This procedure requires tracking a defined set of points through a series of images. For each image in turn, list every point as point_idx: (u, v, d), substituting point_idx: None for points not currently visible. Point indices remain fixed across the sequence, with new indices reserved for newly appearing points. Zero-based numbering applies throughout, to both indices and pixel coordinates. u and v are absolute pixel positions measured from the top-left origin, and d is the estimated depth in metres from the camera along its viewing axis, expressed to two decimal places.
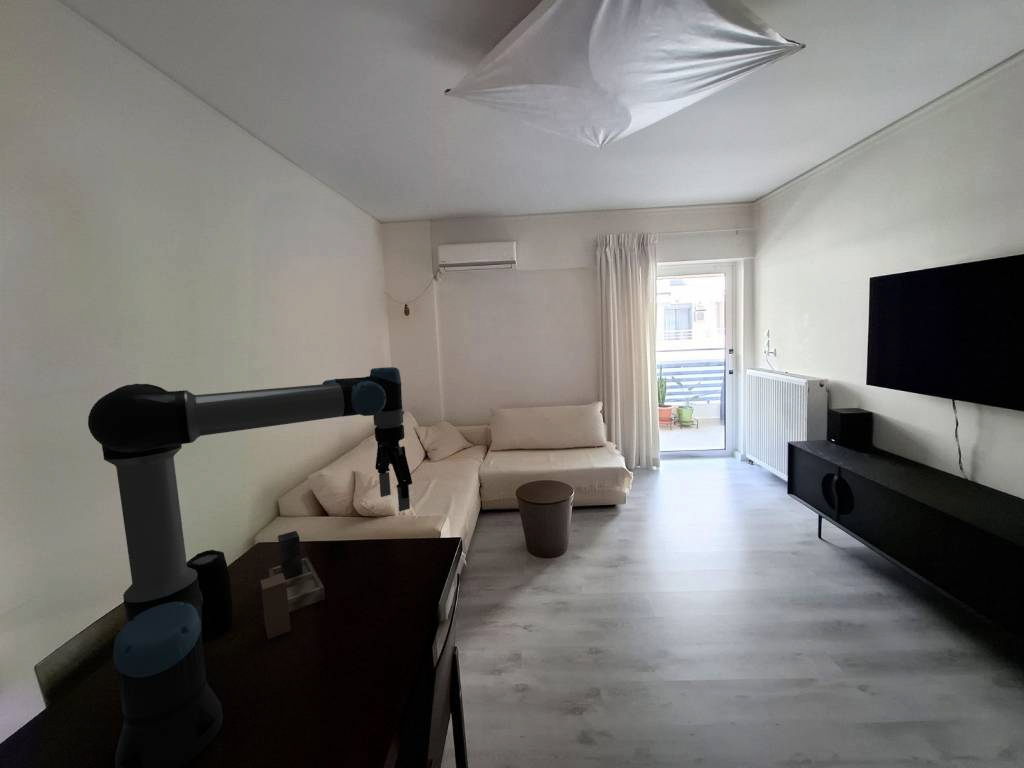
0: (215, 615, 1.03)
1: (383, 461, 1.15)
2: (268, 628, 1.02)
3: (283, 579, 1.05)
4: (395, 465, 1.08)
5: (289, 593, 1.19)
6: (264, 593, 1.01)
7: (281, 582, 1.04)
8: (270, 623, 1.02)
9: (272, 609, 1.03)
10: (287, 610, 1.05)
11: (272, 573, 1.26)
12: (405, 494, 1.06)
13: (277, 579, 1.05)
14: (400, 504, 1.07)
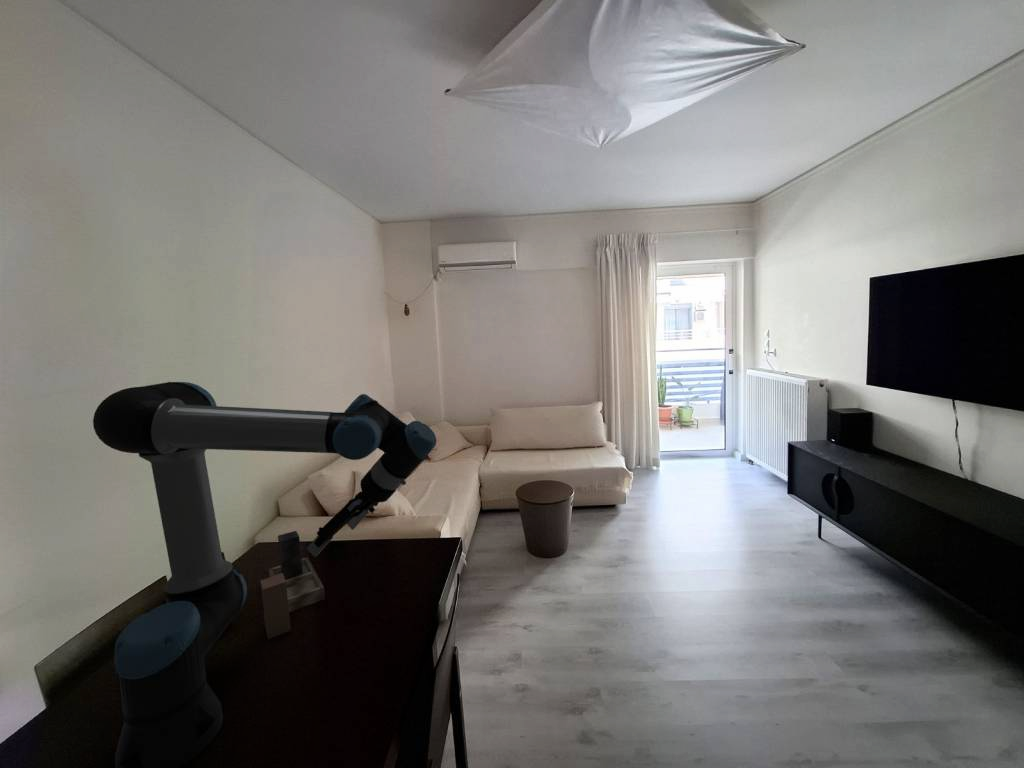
0: None
1: None
2: (268, 628, 1.02)
3: (283, 579, 1.05)
4: None
5: (289, 593, 1.19)
6: (264, 593, 1.01)
7: (281, 582, 1.04)
8: (270, 623, 1.02)
9: (272, 609, 1.03)
10: (287, 610, 1.05)
11: (272, 573, 1.26)
12: (317, 542, 0.90)
13: (277, 579, 1.05)
14: (311, 544, 0.92)
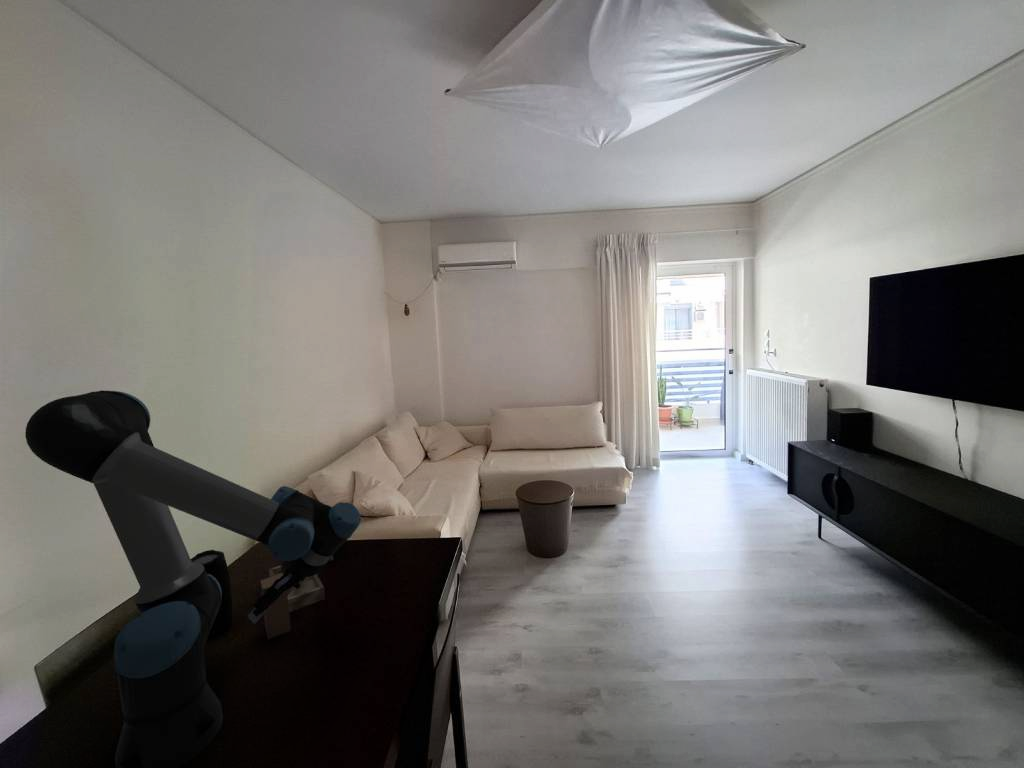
0: None
1: None
2: (268, 628, 1.02)
3: None
4: None
5: None
6: (264, 593, 1.01)
7: None
8: (270, 622, 1.02)
9: (272, 609, 1.03)
10: (287, 610, 1.05)
11: (272, 573, 1.26)
12: (255, 612, 1.00)
13: None
14: (251, 612, 1.02)
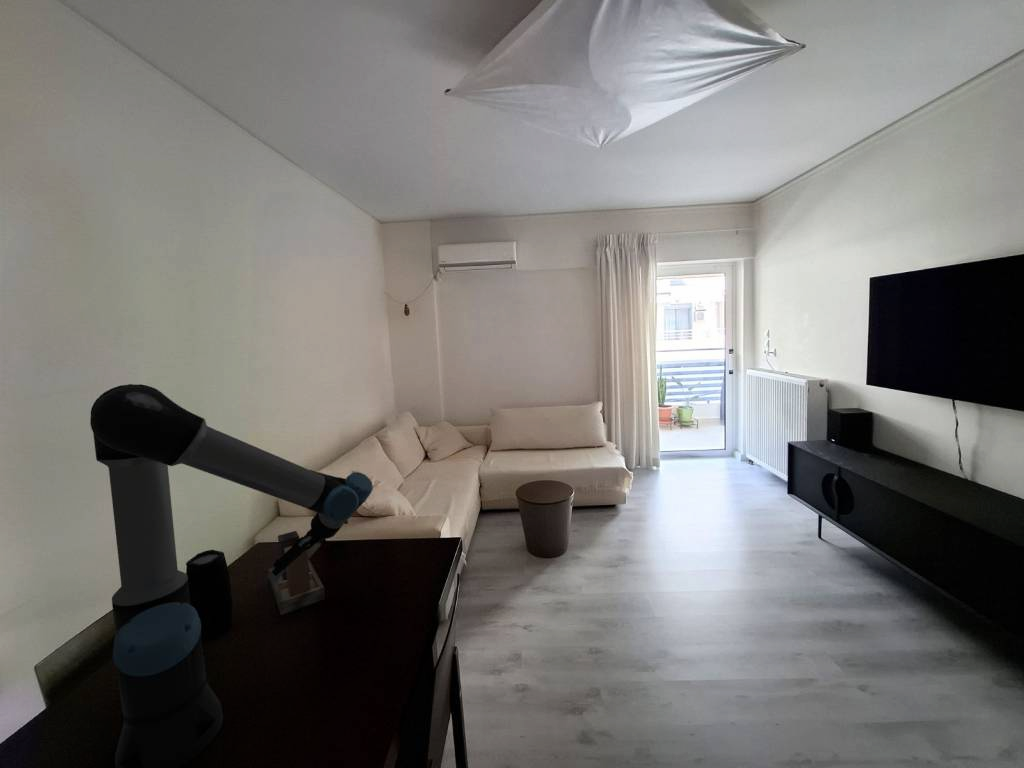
0: (215, 615, 1.03)
1: None
2: (291, 589, 1.16)
3: None
4: None
5: None
6: None
7: None
8: (293, 585, 1.16)
9: (295, 573, 1.16)
10: (308, 574, 1.18)
11: None
12: (275, 571, 1.10)
13: None
14: (270, 572, 1.12)
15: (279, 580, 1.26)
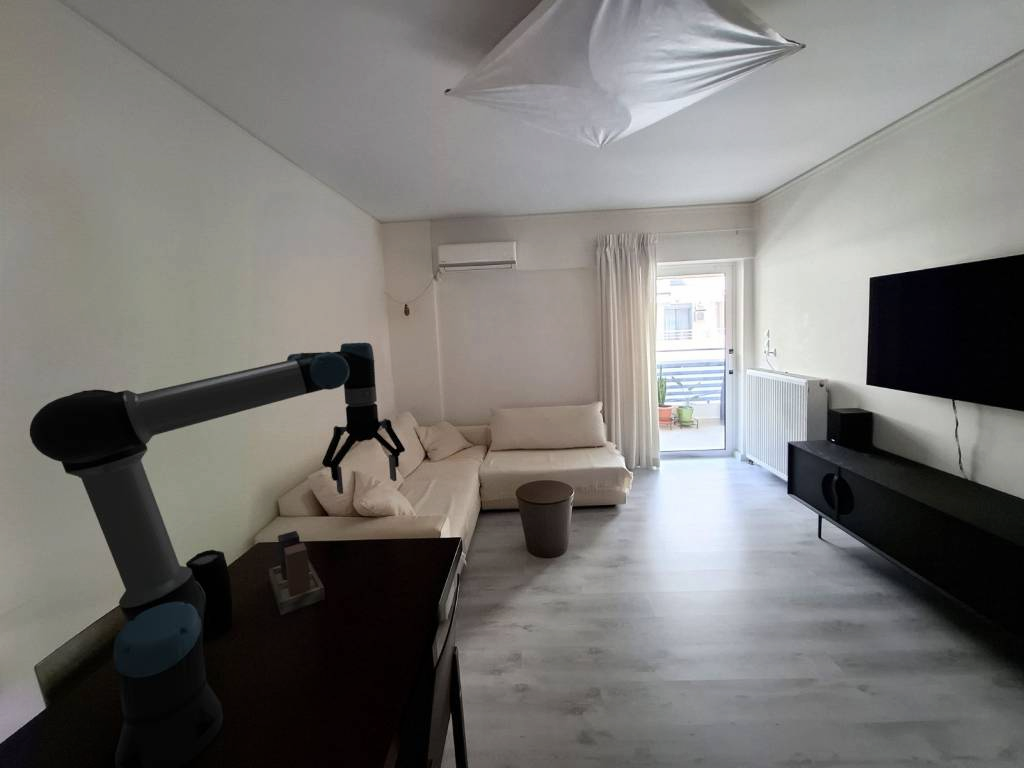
0: (215, 615, 1.03)
1: (378, 441, 1.10)
2: (291, 589, 1.16)
3: (304, 547, 1.19)
4: (343, 444, 1.04)
5: None
6: (288, 558, 1.15)
7: (302, 549, 1.17)
8: (293, 585, 1.16)
9: (295, 573, 1.16)
10: (308, 574, 1.18)
11: (272, 573, 1.26)
12: (332, 476, 1.02)
13: (299, 547, 1.19)
14: None
15: (279, 580, 1.26)
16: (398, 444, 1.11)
